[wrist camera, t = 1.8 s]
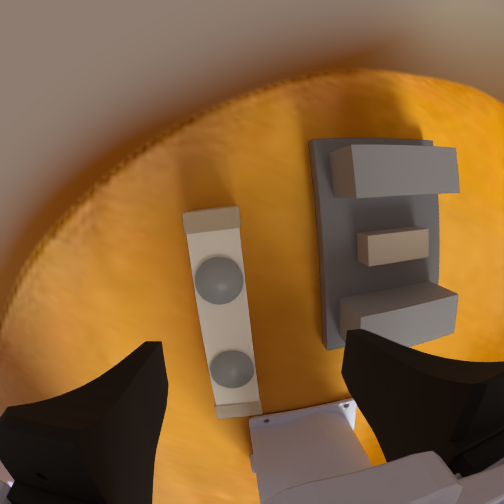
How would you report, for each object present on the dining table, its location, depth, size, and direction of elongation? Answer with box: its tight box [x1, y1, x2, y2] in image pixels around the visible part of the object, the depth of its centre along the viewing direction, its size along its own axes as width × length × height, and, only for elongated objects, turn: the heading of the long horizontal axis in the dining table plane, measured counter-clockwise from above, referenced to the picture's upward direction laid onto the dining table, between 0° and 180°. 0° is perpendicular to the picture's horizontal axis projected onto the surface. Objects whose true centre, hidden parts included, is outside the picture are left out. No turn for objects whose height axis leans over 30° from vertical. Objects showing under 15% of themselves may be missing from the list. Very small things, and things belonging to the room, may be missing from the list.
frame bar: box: [182, 205, 263, 419], centre depth 20 cm, size 3×14×4 cm, turn 6°
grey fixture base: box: [308, 138, 460, 350], centre depth 20 cm, size 15×10×5 cm, turn 6°
